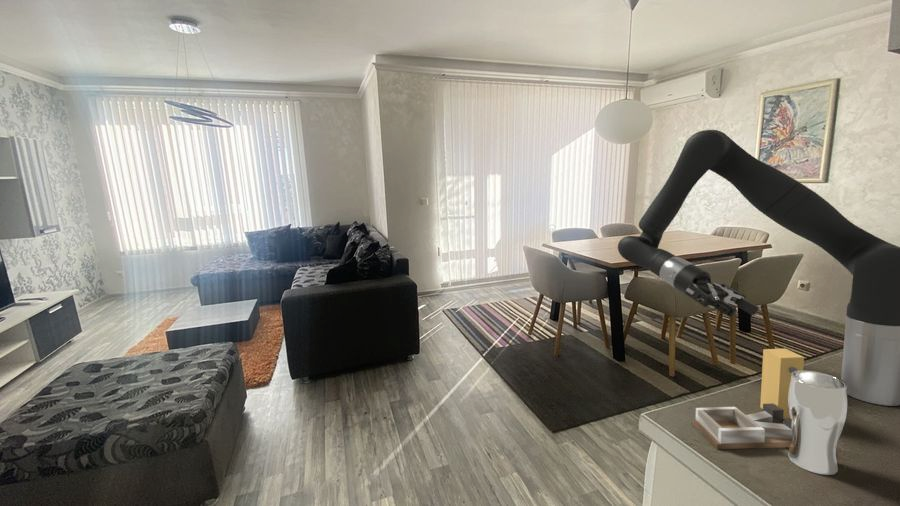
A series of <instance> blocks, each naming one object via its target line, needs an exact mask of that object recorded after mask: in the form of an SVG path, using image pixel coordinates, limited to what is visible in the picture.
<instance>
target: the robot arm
mask: <svg viewBox="0 0 900 506" xmlns="http://www.w3.org/2000/svg"><path fill="white" fill-rule="evenodd" d="M708 171H711V172H713V173H715V174H717V176H720V177H721V178H722V179H725V180H726V181H728V182H729V183H730V184H731V185H732V186H733V187H734V188H735V189H737V191H738V192H739V193H740V194H741V195H742V196H743V198H745V199H746V200H747V201H748V202H749V204H750V205H752V206H753V207H754V208H756V210H758V211H759V212H761V213H762V214H763V215H764V216H766V217H767V218H769V219H770V220H772V221H773V222H775V223H776V224H778V225H780V226H781V227H783V228H784V229H785V230H787V231H788V232H789V231H790V233H793V234H794V235H797V236H799V237H800V238H803V239H805V240H806V241H809V242H811V243H812V244H814V245H817V246H818V247H819V248H821V249H822V250H823V251H824V252H827V254H828V255H830V256H832V258H833V259H834V260H836V261H837V262H838V263H840V264H841V266H843V267H844V268H845V269H846V270H847V271H848V272H849V273H850V274H851V275H852V281H851V293H850V295H851V296H850V298H849V299H850V300H849V302H848V303H847V305H846V314H845V327H844V337H843V338H844V339H843V340H844V341H843V352H842V353H843V354H842V364H841V376H840V379H841V380H842V381H844V382H845V383H846V384H847V396H849V397H852V398H853V399H857V400H860V401H863V402H866V403H870V404H874V405H879V406H888V407H889V406H891V407H895V406H900V246H898V245H895V244H893V243H890V242H888V241H886V240H884V239H882V238H880V237H878V236H876V235H874V234H872V233H870V232H868V231H867V230H865V229H863V228H861V227H859V226H858V225H856V224H854V223H853V222H852V221H850V220H849V219H848V218H847V217H845V215H843V214H842V213H841V212H839V210H838V209H836V208H835V207H834V206H833V205H832V204H831V203H829V201H827V200H826V199H824V197H822V196H821V195H819V193H816V191H814V190H812V189H810V188H809V187H808V186H806V185H804V184H803V183H802V182H799V180H796V179H794V177H791V176H790V175H788V174H786V173H784V172H783V171H781V170H779V169H778V168H775V167H774V166H771V165H769V164H767V163H765V162H763V161H761V160H759V158H755V156H753V155H752V154H750V153H749V152H748V151H746V150H745V148H744V149H743V147H741V146H740V145H739V144H738V143H736V141H734V140H733V139H731V137H729V136H728V135H727V134H726V133H725V132H722V131H721V130H718V129H704V130H700V131H697V132H695V133H693V134H692V135H691V136H690V137H688V138H687V140H686V142H685V143H684V145H683V147H682V150H681V152H680V154H679V156H678V159H677V160H676V163H675V165H674V168H673V169H672V171H671V172H670V175H669V177H668V178H667V179H666V181H665V183H664V185H663V186H662V188H661V189H660V191H659V192H658V194H657V195H656V196H655V198H654V199H653V200H652V202H651V203H650V205H649V206H648V207H647V209H646V211H645V212H644V214H643V216H642V217H641V219H640V220H639V222H638V227H639V229H640V230H641V231H642V232H641V233H640V234H639V235H638V236H637V235H628V236H627V235H626V236H624V237H623V238H621V239H620V240H619V242H618V244H617V251H618V253H619V255H620V256H621V257H622V258H623V259H624V260H626V261H628V262H630V263H632V264H634V265H636V266H638V267H641V268H644V269H646V270H648V271H650V272H651V273H653V275H656V276H657V277H658V278H661V279H662V280H663V281H664V282H665V283H666V284H668V285H670V286H671V287H672V288H674V289H676V290H677V291H679V292H681V293H682V294H684V295H685V296H687V297H689V298H691V299H693V300H694V301H695V302H697V303H698V304H700V305H701V306H703V307H705V308H706V307H710V308H712V309H716V310H717V311H719V312H721V313H722V314H724V315H726V316H727V317H729V318H730V317H731V318H733V317H734V315H735V314H736V313H737V308H738V309H740V310H742V311H743V312H745V313H747V314H749V315H750V316H755V315H757V313H758V311H760V308H759V306H757V305H756V304H753V303H752V302H750V301H748V300H747V299H746V298H747V296H746V295H745V294H744V293H741V292H739V291H738V290H736V289H735V288H732V287H730V286H728V285H726V284H725V283H721V284H718V283H715V282H714V283H712V280H711V274H710V273H709V272H708V271H706V270H704V269H702V268H701V267H699V266H697V265H695V264H693V263H691V262H690V261H688V260H686V259H684V258H681V257H678V256H677V255H675V254H673V253H671V252H669V251H668V250H665V249H663V248H659V246H660V244H661V240H662V237H663V235H664V233H665V231H666V230H667V228H668V227H669V226H670V224H671V223H672V222H673V220H674V219H675V217H676V216H677V215H678V213H679V211H680V210H681V208H682V206H683V205H684V203H685V201H686V199H687V197H688V196H689V193H690V192H691V191H692V189H693V188H694V187H695V185H696V184H697V183H698V182H699V180H700V179H701V178H703V176H704V175H705V174H706V173H707V172H708ZM734 306H735V307H734ZM736 307H737V308H736Z"/></svg>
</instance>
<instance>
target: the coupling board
mask: <svg viewBox="0 0 900 506" xmlns="http://www.w3.org/2000/svg"><path fill="white" fill-rule="evenodd" d="M783 413H784V410H783V409H781V408H780V407H778V406H777V405H775V404H774V403H772V404H763V409H762V411H759V412H754V413H750V414H745V413H744V412H742V411H741V410H740V409H738V408H737V407H736V406H718V407H717V406H716V407H715V406H714V407H711V406H710V407H695V418H692V419H691V425H692V426H693V427H694V428H695V429H696V430H697V431H698V432H699V433H700V434H701V435H702V436H703V437H704V438H705V439H706V440H707V441H708V442H709V443H710V444H711V445H712V446H713V447H714V448H715V449H717V450H729V449H732V450H733V449H739V450H741V449H770V448H771V449H773V448H774V449H776V448H778V449H779V448H790V445H791V442H792V428H791V422H790V418H784V419H783Z"/></svg>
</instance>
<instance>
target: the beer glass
mask: <svg viewBox="0 0 900 506" xmlns="http://www.w3.org/2000/svg"><path fill="white" fill-rule="evenodd" d="M788 409H789V416H790V422H791V428H792V442H791V445H790V447H788V450H787V451H788V452H787V457H788V459H789V460H790V461H791V462H792V463H793V464H794V465H796V466H798V467H799V468H801V469H803V470H805V471H808V472H811V473H813V474H817V475H823V476H832V475H836V474H837V473H838V470H839V467H838V461H837V456H836V455H837V453H836V452H837V451H836V449H837V444H838V442H839V440H840V437H841V434H842V432H843V428H844V426H845V423H846V419H847V413H848V395H847V384H846V383H845V382H844V381H842V380H841V378H839V377H836V376H833V375H831V374H828V373H823V372H819V371H816V370H815V371H813V370H805V369H803V370H800V371H794V372H792V374H791V381H790V386H789V393H788Z"/></svg>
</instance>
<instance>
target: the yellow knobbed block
mask: <svg viewBox="0 0 900 506" xmlns="http://www.w3.org/2000/svg"><path fill="white" fill-rule="evenodd" d="M762 352H763V353H762V367H761V368H762V369H761V387H760V388H761V389H760V403H759V404H760V408H761V409H762V410H763V404H772V403H774V404H775V405H777V406H778V407H780V408H781V409H783V410H784V413H783V420H784V418H790V416H789V409H788V393H789V386H790V381H791V374H792V372H794V371H800V370H804V366H805V365H804V364H805V363H804V362H805V356H802V355H800V354H799V353H796V352H794V351H792V350H789V349H787V348H768V349H767V348H764V349H763V350H762Z"/></svg>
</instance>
